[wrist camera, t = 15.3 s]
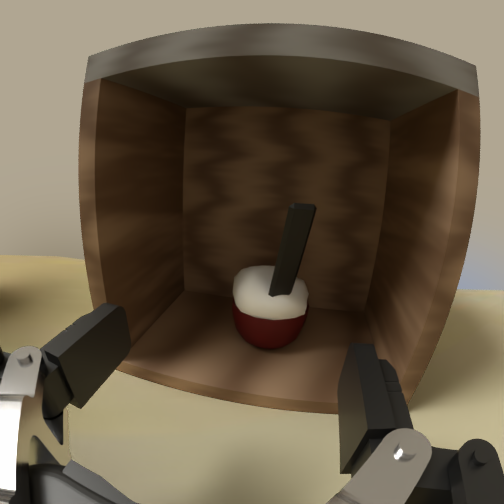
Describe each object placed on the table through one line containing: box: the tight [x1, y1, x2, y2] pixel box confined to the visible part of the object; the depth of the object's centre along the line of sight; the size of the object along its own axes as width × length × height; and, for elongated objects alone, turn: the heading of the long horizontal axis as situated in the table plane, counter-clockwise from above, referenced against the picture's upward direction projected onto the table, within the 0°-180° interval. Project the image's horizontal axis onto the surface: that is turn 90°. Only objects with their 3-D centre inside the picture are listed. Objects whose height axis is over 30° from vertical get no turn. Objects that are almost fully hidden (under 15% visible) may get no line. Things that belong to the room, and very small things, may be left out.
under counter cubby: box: [79, 23, 480, 414], centre depth 21 cm, size 23×15×23 cm, turn 79°
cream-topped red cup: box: [232, 203, 317, 349], centre depth 22 cm, size 10×6×12 cm, turn 170°
